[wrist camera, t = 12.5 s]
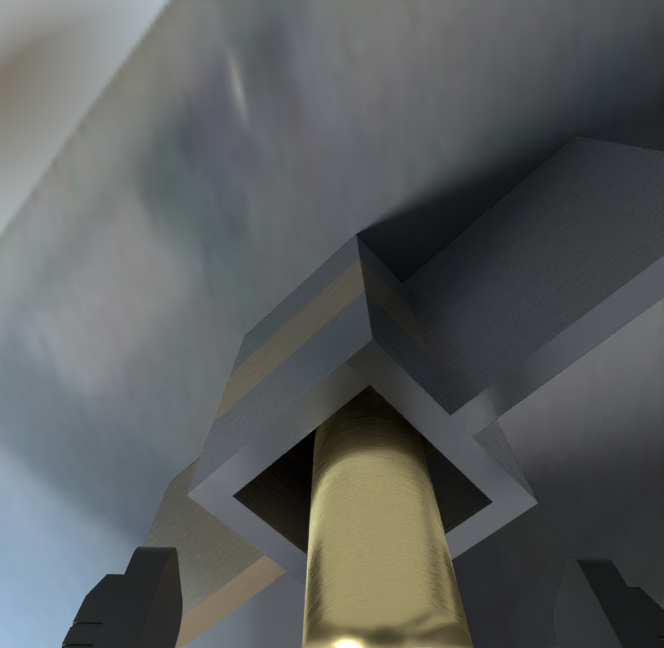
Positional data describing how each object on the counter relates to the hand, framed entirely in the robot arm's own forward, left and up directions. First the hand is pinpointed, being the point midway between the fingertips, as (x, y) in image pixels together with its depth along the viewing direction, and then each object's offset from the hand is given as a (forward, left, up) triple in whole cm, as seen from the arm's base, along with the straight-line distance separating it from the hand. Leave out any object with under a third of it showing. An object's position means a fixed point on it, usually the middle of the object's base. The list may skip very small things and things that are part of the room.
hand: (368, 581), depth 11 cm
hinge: (0, 0, -12) cm, 12 cm away
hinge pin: (0, 0, -12) cm, 12 cm away
